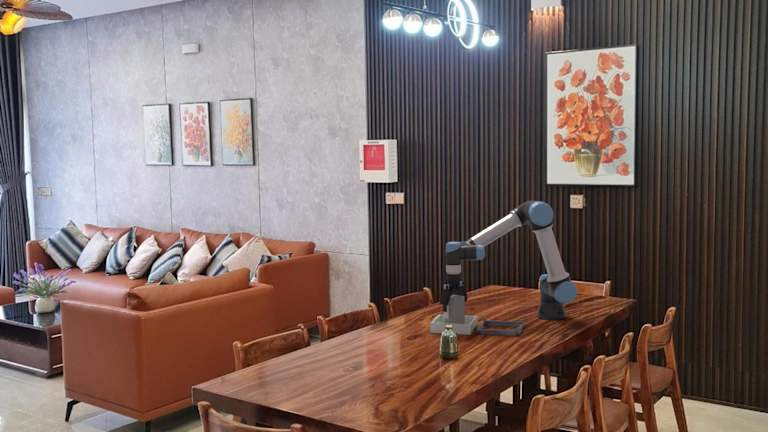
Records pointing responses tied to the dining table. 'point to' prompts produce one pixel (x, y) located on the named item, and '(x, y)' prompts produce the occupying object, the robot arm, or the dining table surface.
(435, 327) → the bin
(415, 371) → the dining table surface
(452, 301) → the skincare box
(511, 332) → the frame
